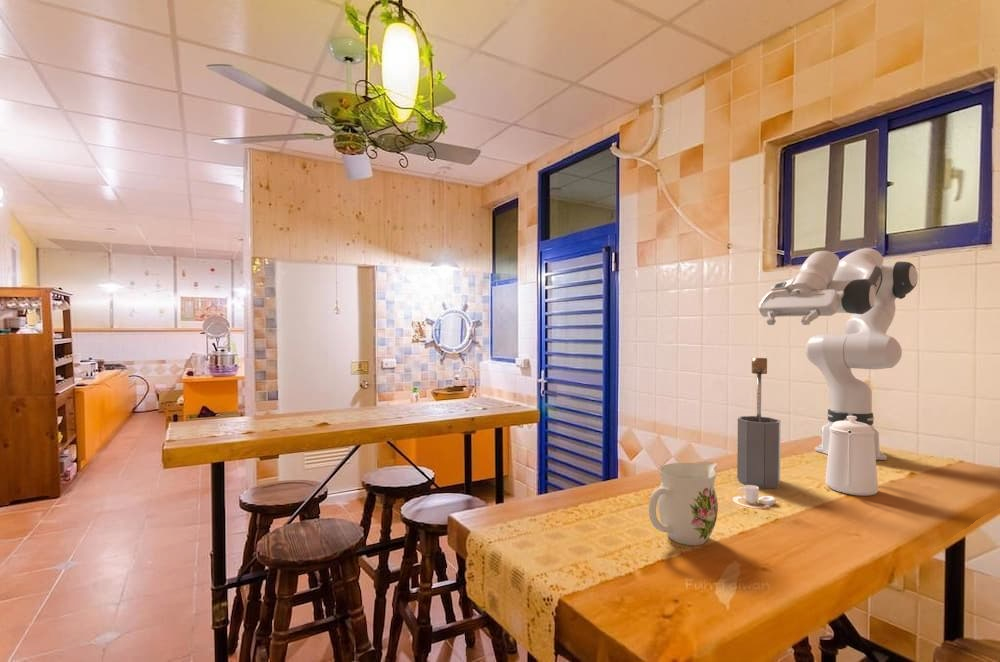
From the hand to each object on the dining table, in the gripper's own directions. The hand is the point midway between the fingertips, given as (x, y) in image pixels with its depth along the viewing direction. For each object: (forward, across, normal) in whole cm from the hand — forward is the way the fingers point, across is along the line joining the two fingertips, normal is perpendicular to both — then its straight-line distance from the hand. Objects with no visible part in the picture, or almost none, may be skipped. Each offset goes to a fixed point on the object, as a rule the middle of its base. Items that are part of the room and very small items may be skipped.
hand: (786, 323), depth 137 cm
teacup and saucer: (+51, -10, -12) cm, 53 cm away
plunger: (+32, 0, -15) cm, 36 cm away
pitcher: (+73, -11, +9) cm, 74 cm away
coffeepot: (+28, -16, -32) cm, 45 cm away
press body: (+37, +1, -23) cm, 44 cm away
